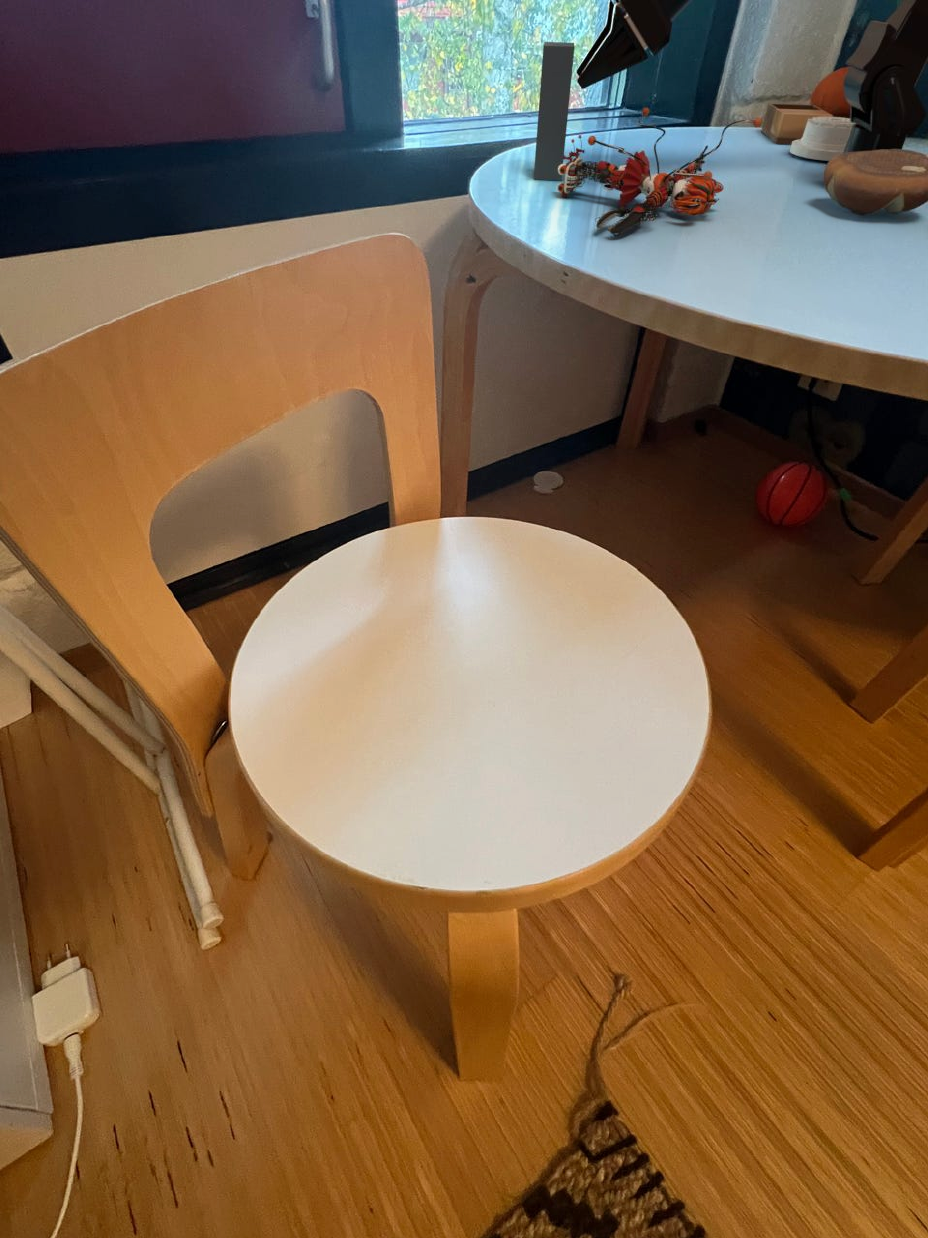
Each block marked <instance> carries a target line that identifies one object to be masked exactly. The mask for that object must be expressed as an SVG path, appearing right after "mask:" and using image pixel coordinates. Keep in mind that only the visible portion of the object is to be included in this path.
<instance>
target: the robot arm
mask: <svg viewBox="0 0 928 1238" xmlns="http://www.w3.org/2000/svg"><path fill="white" fill-rule="evenodd" d="M614 1H615V3H614V2H613V1H612V0H608V3H607V11H606V12H607V13H606V21H605V24H604V26H603V28H602V29H601V31H600V32H599V34H598V36H597V37H596V39H595V40H594V42H593V44H592V45H591V47H590V48H589V49H588V51H587V53H586V54H585V56H584V57H583V59H582V61H581V63H579V65H578V67H577V69H576V74H577V76H578V77H577V84H578V86H579V87H580V89H582V90H584V89H587V88H589V87H590V86H593V85H595V84H597V83H599V82H602V81H605V79H608V78H611V77H612V76H615V75H617V74H619V73H621V72H624V71H625V70H627V69H630V68H632V67H635V66H636V65H639V64H640V63H641V64H642V63H643V62H646V61H648V60H649V59H650V57H649V54H648V53H647V52H646V50H647V49H648V50H649V53H650V54H651V55H652V57H653V58H655V57H656V56H657V55H659V53H660V52H661V51H662V50H663V49H664V48H665V47H666V46H667V45H668V44H669V42H670V41H671V34H672V29H673V22H672V21H674V20H675V18H676V17H677V16H678V15H679V14H680V13H681V12H682V11H683V10H684V9H685V8H686V7H687V6H688V5H689V4H690V3H691V2H692V1H693V0H614ZM927 61H928V0H903V1H901V3H900V5H898V7H897V9H896V10H895V11H894V12H893V13H892V14H891V15H890V16H889V17H888V18H887V19H886V20H885V22H883V21H878V20H870V22H869V24H868V25H867V27H866V29H865V31H864V32H863V36H862V38H861V40H860V42H859V44H858V46H857V48H856V49H855V51H854V52H853V54H852V55H851V56H850V57H849V58H848V59H847V60H846V61H845V65H847V66H850V67H849V69H848V71H847V73H846V76H845V78H844V82H843V86H844V96H845V98H846V100H847V102H848V103H849V104H850V121H851V122H852V123H856V124H853V127H852V130H851V133H850V136H849V138H848V140H847V143H846V146H845V149H844V152H843V153H848V152H858V151H873V150H881V149H888V150H890V149H903V147H904V145H905V142H906V140H907V137H908V136H913V135H914V134H915V133H916V132H917V130H918V129H919V127H920V126H921V125H922V123H923V122H924V120H925V119H926V117H927V112H926V110H925V107H924V105H923V103H922V100H921V99H920V96H919V94H918V92H917V90H916V85H917V83H918V81H919V78H920V77H921V75H922V73H923V70H924V69H925V66H926V64H927Z"/></svg>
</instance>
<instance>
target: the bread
mask: <svg viewBox="0 0 928 1238" xmlns="http://www.w3.org/2000/svg"><path fill="white" fill-rule="evenodd" d="M822 183H823V185H824V189H825V191H826V192H827V194H828V195H829V197H830V198H831V199H832V200H833V201H835V202H836V203H838V205H839V206H840V207H842V208H845V209H847V210H848V211H850V212H851V213H852V214H854V215H859V216H866V215H867V216H868V215H872V214H875V213H879V212H880V211H882V210H883V211H884V213H886V214H901V213H905V212H910V211H912V210H916V209H917V208H920V207H921V206H923V205H925V204H927V202H928V156H927V155H926V154H924V153H922V152H920V151H915V150H909V149H903V148H902V149H890V150H888V149H881V150H873V151H858V152H848V153H843V154H839V155H837V156H835V157H833V158H832V159H831V160H830V161H827V164H826V165H825V167H824V169H823V172H822Z"/></svg>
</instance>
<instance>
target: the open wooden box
mask: <svg viewBox="0 0 928 1238" xmlns="http://www.w3.org/2000/svg"><path fill="white" fill-rule="evenodd" d="M812 117H833V115H831V114H829V113H828V112H826V111H824V110H822V109H821V108H819V107H817V106H815V105H810V104H801V103H800V104H798V103H797V104H796V103H772V102H771V103H768V104H767V108H766V111H765V115H764V119H763V122H762V127H761V131H760V132H761V133H762V134H763V135H765V136H766V137H767V139H769V140H771V141H772V142H773V143H774V144H775V145H791V144H792V141H795V140H799V139H801V138H802V137H803V134H804V131H805V128H806V125H807V121H808V119H812Z"/></svg>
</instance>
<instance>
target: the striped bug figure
mask: <svg viewBox="0 0 928 1238" xmlns="http://www.w3.org/2000/svg"><path fill="white" fill-rule="evenodd" d="M649 114H650V109H649V107H645V106H644V108H642V110H641V116H640V117H639V118H638V121H637V124H638V126H639V127H641V128H648V129H655V130H659V131H661V132H663V133H662V135H660V136H659V137H658V138H657V140H656V141H655V142H654V146H653V152H654V158H655V161H656V167H657V168H656V169H657V172H656V173H653V174H651V169H650V167H651V165H650V161H649V158H648V156H646V152H645V150H641V151H640V152H639V151H638V150H636V151H635V152H634V154H633V153H630V152H629V151H625V147H624V148H623V147H621V146H616V145H611V144H609V143H608V144H607V143H605V142H602V141H599V140H597V138H596V136H595V135H590V136H589V137H588V139H587V144H588V145H589V146H595V145H596V144H598V145H600V146H604V147H607V148H610V149H613V150H617V153H619V154H624V155H627V156H628V158H627V160H626V161H625V163H624V165H620V166H619V167H618V166H617V165H616V164H613V163H611V162H609V161H606V160H600V161H591V160H588V161H587V160H586V161H583V158H582V157H580V153H583V154H585V151H586V150H585V149H582V148H583V147H582V144H583V142H582V141H580V144H581V145H580V148H578V147H575V146H573V148H574V149H573V150H571V151H569V153H568V156H566V155H564V158H563V161H564V160H568V162H566V163H563V164H561V165H560V166H559V167H558V173H559V174H560V175H562V176H564V182H562V183H560V184H559V185H558V186H557V191H558V192H559V193H560V195H561V197H562V198H566V197H567V195H568V194H569V193H575V192H576V190H577V189H578V188H582V187H583V185H584V184H585V182H586V179H588V180H589V181H593V182H597V183H599V184H601V185H603V189H604V190H606V191H613V190H616V191H619V192H621V193H620V194H619V200H618V204H619V206H618V207H617V209H615V208H610V209H609V210H608V211H607V212H604V213H603V214H602V215H601V216H599V217H596V218H594V221H595V222H596V225H595V227H596V229H602V228H605V227H606V226H607V224H609V222H611V221H612V220H614V219H615V218H616V217H618V218H620V219H618V221H615V222H616V223H615V222H613V224H611V225H609V226H607V228H606V229H607V231H608V232H609V233H610V234H612V235H613V236H614V237H618V236H620V235H621V234H622V233H624V232H626V231H628V230H631V229H632V228H633V227H638V226H640V225H641V222H652V221H655V220H657V218H658V214H657V213H655V211H656V209H658V208H662V207H663V206H664V205H665V204H666V203H667V202H668V201H669V202H670V203H669V204H670V205H669V207H670V208H672V211H674V212H675V213H676V212H677V214H678V215H687V216H690V217H695V216H699V215H703V214H704V213H706V212H707V211H708V210H710V208H711V207H712V206H714V205H716V203H717V202H718V201H720V198H715V197H716V196H717V194H719V193H721V192H722V191H723V190H724V189H725V188H724V185H723V184H722V183H721V182H719V181H718V180H716V179H714V178H713V174H712V173H713V172H711V171H710V170H707V171H705V172H704V173H701V172H702V171H703V165H704V164H705V163H706V161H705V160H704V159H705V158H706V157H708V156H709V155H712V154H713V153H714V152H716V151H717V150H718V149H719V148H720V147H721V145H722V142H723V139H724V134H725V131H726V130H727V129H728V128H730V127H731V126H733V125H736V124H743V123H753V127H754V128H759V127H760V126H762V125H763V120H762V118H761V117H756V118H755V119H742V120H737V121H734V122H731V123H729V124H727V125H726V126H725V127H724V128H723V130H722V132H721V137H720V141H719V142H718V144H717V145H716V147H714V148H713V149H711V150H710V151H709V152H708V151H707V150H708V149H709V145H706V146H705V147H704V149H703V151H701V153H700V154H699V156H698V157H696V158H694V159H693V160H690V161H689V162H687V163H685V164H684V165H682V166H681V167H679V168H676V169H674V170H672V171H671V172H669V173H666V172H660V163H659V157H658V153H657V144H658V143H659V141H660V140H661V139H662V138H663V137H665V135H666V133H667V132H666V130H665V129H664V128H662V127H660V126H659V127H658V126H654V125H646V124H643V123H641V119H642V118H643V117H647V116H649ZM578 139H579V140H582V135H581V134H579V135H578ZM570 142H571V143H573V145H575V139H574V138H573V139H571V141H570ZM705 152H707V153H705ZM641 194H643V195H644V196H645V199H646V200H645V201H643V202H639V203H635V204H634V206H632V207H631V208H627V207H625V206H627V205H629V204H630V203H632V202H633V201H634V200H635V199H636V198H637V197H638V196H639V195H641ZM653 216H654V217H653ZM597 219H598V220H597Z"/></svg>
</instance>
